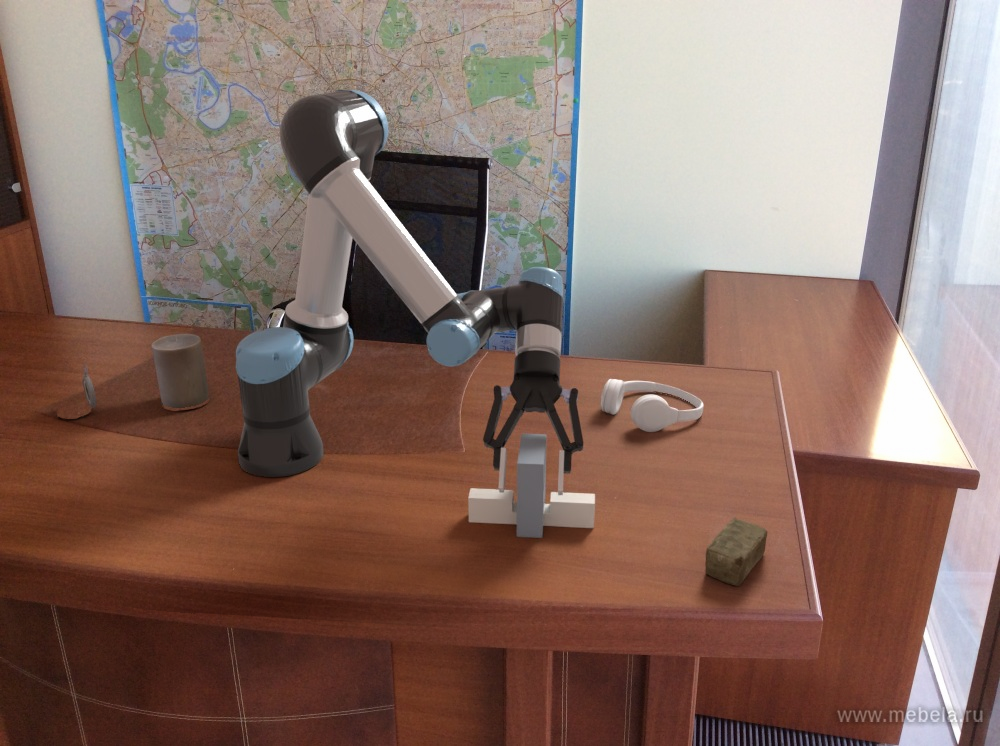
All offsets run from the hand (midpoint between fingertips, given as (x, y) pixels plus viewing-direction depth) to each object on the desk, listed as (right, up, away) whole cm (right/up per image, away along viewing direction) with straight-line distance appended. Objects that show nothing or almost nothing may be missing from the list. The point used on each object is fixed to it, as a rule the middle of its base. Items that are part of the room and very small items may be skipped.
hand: (530, 491), depth 134 cm
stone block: (+30, -10, -5) cm, 32 cm away
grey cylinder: (-71, +12, +48) cm, 86 cm away
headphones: (+26, +10, +44) cm, 52 cm away
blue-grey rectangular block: (0, -5, +6) cm, 8 cm away
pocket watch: (-90, +10, +43) cm, 101 cm away
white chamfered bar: (0, -5, +6) cm, 8 cm away
